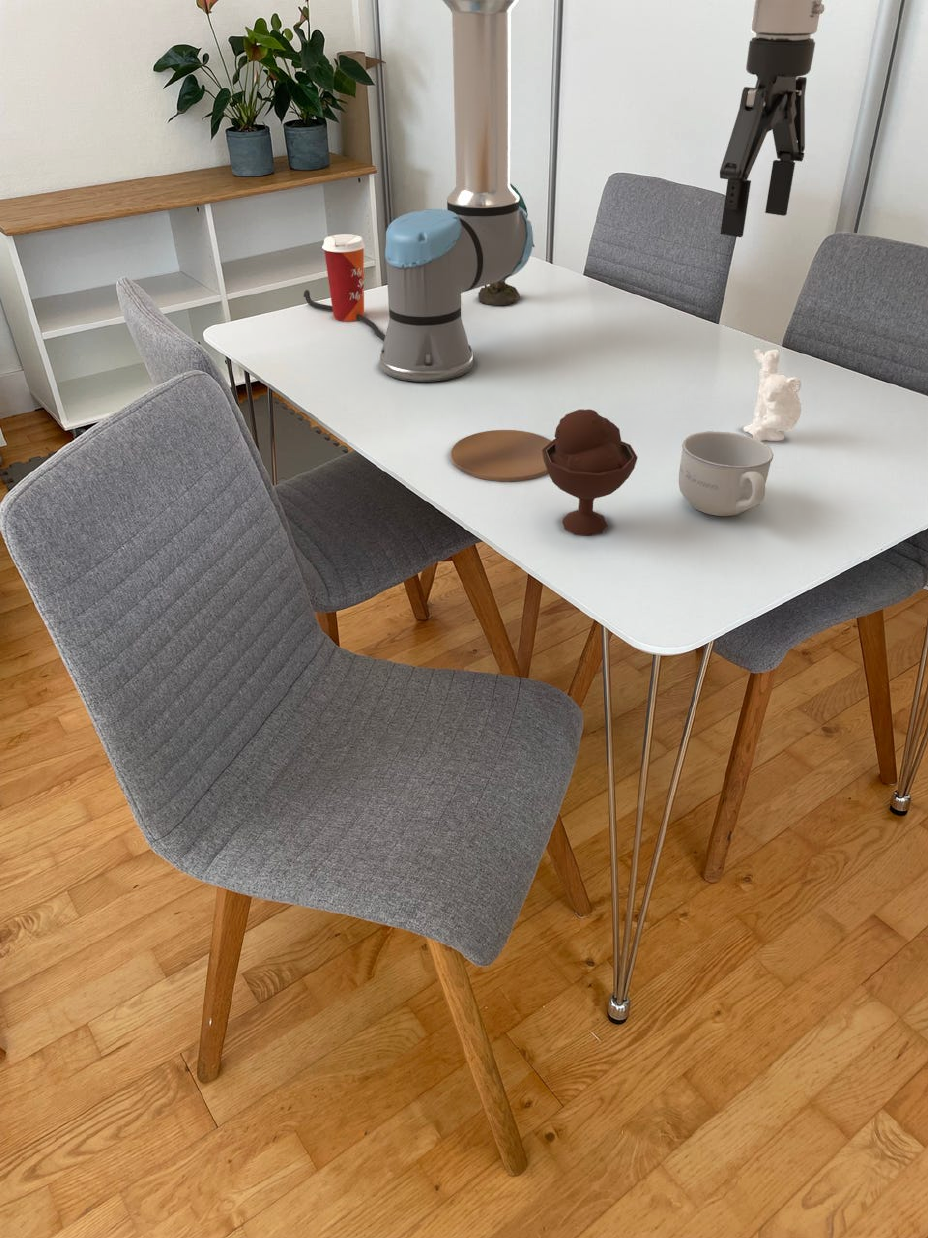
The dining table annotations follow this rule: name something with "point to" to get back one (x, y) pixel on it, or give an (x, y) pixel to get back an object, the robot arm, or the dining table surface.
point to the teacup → (723, 472)
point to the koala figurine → (774, 400)
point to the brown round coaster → (501, 455)
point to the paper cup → (345, 275)
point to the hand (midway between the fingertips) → (754, 224)
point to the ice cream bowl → (587, 465)
